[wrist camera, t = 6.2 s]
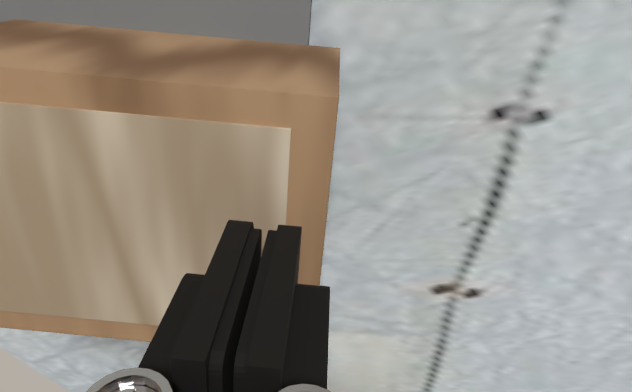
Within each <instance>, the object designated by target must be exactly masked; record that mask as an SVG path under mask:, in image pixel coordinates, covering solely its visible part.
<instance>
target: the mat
mask: <svg viewBox="0 0 632 392" xmlns="http://www.w3.org/2000/svg"><path fill="white" fill-rule="evenodd" d="M311 3H312V0H0V22H3V21H9V20H14V19H20V20H31V21H42V22H53V23H64V24H75V25H86V26H97V27H108V28H120V29H131V30H142V31H153V32H164V33H175V34H186V35H197V36H209V37H220V38H231V39H242V40H253V41H264V42H275V43H286V44H298V45H309V32H310V17H311Z"/></svg>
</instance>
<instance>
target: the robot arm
mask: <svg viewBox="0 0 632 392" xmlns="http://www.w3.org/2000/svg"><path fill="white" fill-rule="evenodd" d="M301 234H302V227H300V226H290V225H278V228H277V231H276V230H268V233H267V237H266V241H265V244H264V248H263V252H262V256H261V247H262V230H261V229H255V228H254V224H253V222H248V221H237V220H228V222H227V224H226V226H225V229H224V231H223V234H222V236H221V238H220V241H219V243H218V245H217V248H216V250H215V252H214V255H213V257H212V259H211V262H210V264H209V266H208V269H207V271H206V274H205V275H202V274H192V273H186V274H185V275H184V276H183V278H182V280H181V282H180V284H179V286H178V288H177V290H176V292H175V294H174V296H173V298H172V300H171V302H170V304H169V306H168V308H167V310H166V312H165V314H164V316H163V318H162V320H161V322H160V324H159V326H158V328H157V330H156V332H155V334H154V336H153V338H152V341H151V343H150V345H149V347H148V349H147V351H146V353H145V355H144V357H143V359H142V361H141V363H140V365H139V367H138V368H130V369H123V370H119V371H117V372H114V373H112V374H109V375H107V376H105V377H104V378H102V379H100V380H99V381H97V382H96V383H94V384H93V385H92V386H91V387H90V388H89V389H88V390H87V391H86V392H330V391H329V390H327V365H328V333H329V300H330V287H327V286H316V285H306V284H298V271H299V259H300V246H301Z"/></svg>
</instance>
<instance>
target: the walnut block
mask: <svg viewBox="0 0 632 392" xmlns="http://www.w3.org/2000/svg"><path fill="white" fill-rule="evenodd" d="M339 67H340V48H331V47H320V46H309V45H298V44H286V43H275V42H264V41H253V40H242V39H231V38H220V37H209V36H197V35H186V34H175V33H164V32H153V31H142V30H131V29H120V28H108V27H97V26H86V25H75V24H64V23H53V22H42V21H31V20H20V19H14V20H9V21H3V22H0V327H1V328H12V329H22V330H33V331H43V332H54V333H64V334H75V335H85V336H96V337H106V338H117V339H127V340H138V341H148V342H151V341H152V338H153V336H154V334H155V332H156V330H157V328H158V326H159V324H160V322H161V320H162V318H163V316H164V314H165V312H166V310H167V308H168V306H169V304H170V302H171V300H172V298H173V296H174V294H175V292H176V290H177V288H178V286H179V284H180V282H181V280H182V278H183V276H184V275H185V274H186V273H192V274H202V275H205V274H206V271H207V269H208V266H209V264H210V262H211V259H212V257H213V255H214V252H215V250H216V248H217V245H218V243H219V241H220V238H221V236H222V234H223V231H224V229H225V226H226V224H227V222H228V220H237V221H248V222H253V224H254V228H255V229H261V230H262V247H261V256H262V252H263V248H264V244H265V241H266V237H267V233H268V230H276V231H277V228H278V225H290V226H300V227H302V234H301V246H300V259H299V271H298V284H306V285H316V286H319V285H320V275H321V266H322V256H323V246H324V237H325V227H326V217H327V208H328V198H329V189H330V179H331V169H332V160H333V150H334V140H335V131H336V121H337V111H338V102H339Z"/></svg>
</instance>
